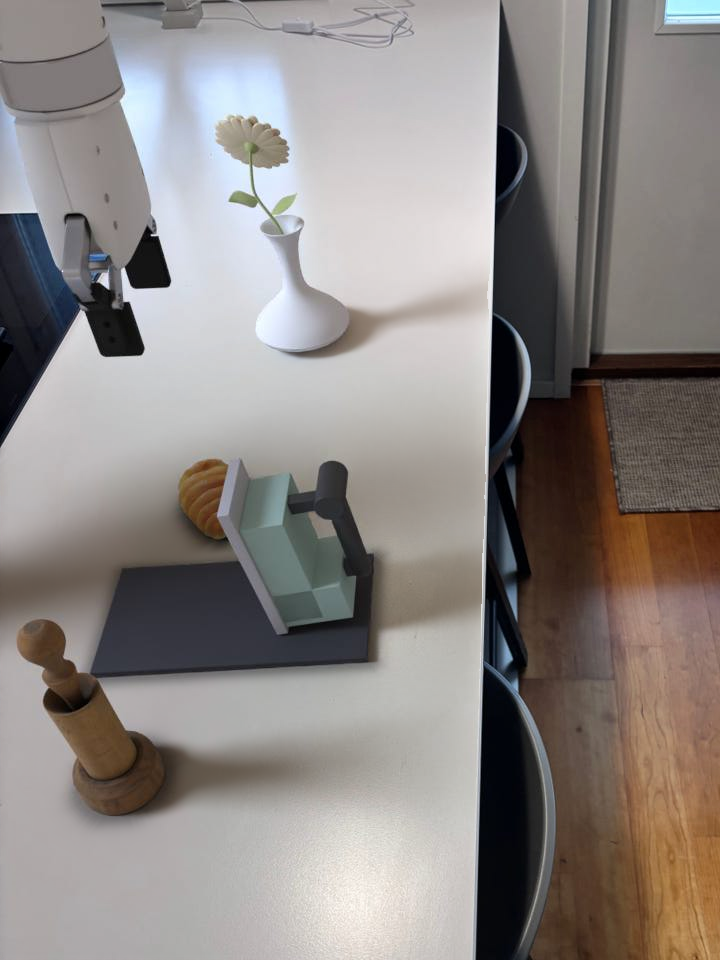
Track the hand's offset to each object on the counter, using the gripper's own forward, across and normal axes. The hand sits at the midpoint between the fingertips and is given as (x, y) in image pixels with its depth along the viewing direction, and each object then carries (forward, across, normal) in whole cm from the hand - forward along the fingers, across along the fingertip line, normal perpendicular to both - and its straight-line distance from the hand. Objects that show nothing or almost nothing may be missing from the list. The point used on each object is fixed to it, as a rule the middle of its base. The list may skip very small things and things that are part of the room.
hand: (138, 319), depth 75 cm
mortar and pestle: (+26, +25, -3) cm, 36 cm away
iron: (+17, +7, +6) cm, 20 cm away
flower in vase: (+25, -40, +4) cm, 47 cm away
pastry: (+26, -8, -1) cm, 27 cm away
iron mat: (+25, +8, +3) cm, 27 cm away
